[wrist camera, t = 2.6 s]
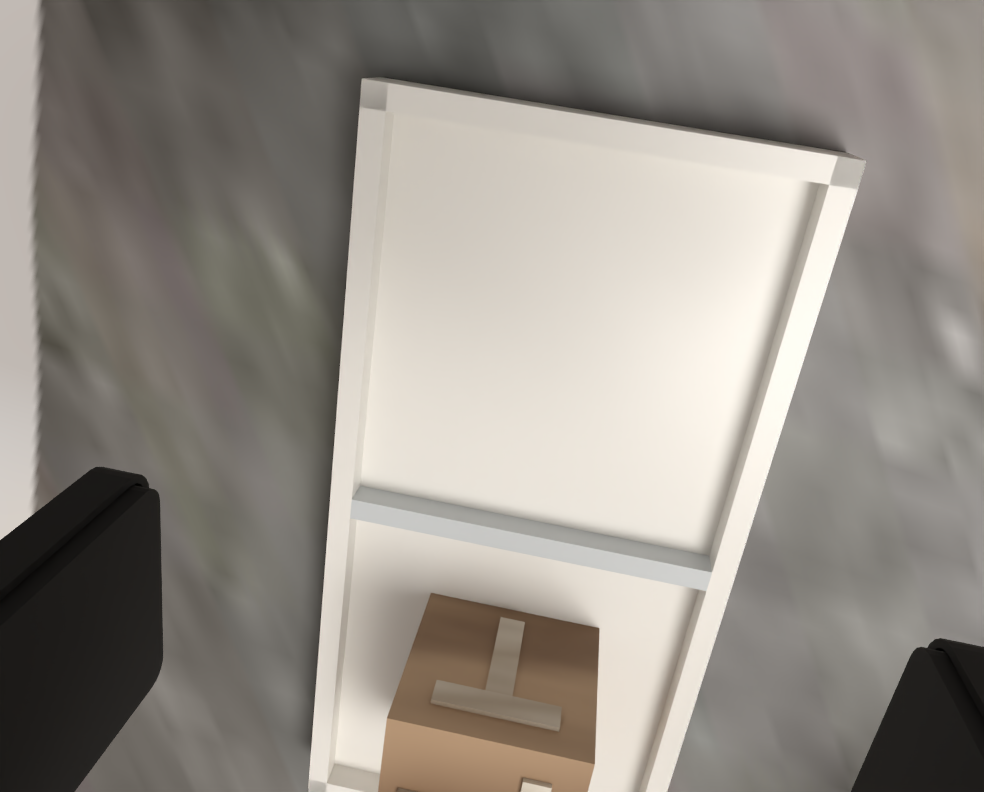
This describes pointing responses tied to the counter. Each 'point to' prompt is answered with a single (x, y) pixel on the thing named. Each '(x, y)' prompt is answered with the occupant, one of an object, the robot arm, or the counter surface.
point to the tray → (559, 394)
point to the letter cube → (493, 703)
